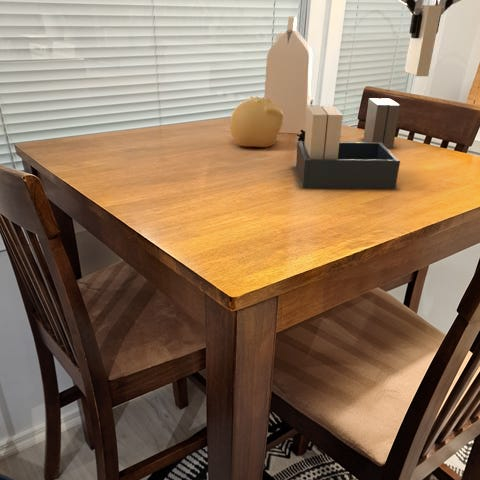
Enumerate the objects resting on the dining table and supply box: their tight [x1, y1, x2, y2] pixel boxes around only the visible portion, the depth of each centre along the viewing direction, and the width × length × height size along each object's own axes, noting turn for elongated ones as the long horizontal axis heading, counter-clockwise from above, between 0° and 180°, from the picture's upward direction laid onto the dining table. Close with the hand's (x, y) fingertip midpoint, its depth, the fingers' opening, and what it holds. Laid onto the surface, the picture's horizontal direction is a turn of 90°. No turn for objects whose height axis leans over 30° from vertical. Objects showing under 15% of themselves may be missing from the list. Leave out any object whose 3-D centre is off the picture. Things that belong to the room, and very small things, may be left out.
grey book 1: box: [362, 97, 388, 143], centre depth 116 cm, size 2×9×10 cm, turn 0°
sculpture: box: [229, 96, 283, 148], centre depth 116 cm, size 12×12×11 cm
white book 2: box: [320, 105, 343, 159], centre depth 91 cm, size 2×9×12 cm, turn 0°
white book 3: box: [404, 4, 442, 77], centre depth 100 cm, size 2×9×12 cm, turn 179°
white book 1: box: [304, 105, 327, 159], centre depth 91 cm, size 2×9×12 cm, turn 0°
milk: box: [263, 16, 313, 135], centre depth 128 cm, size 12×12×26 cm
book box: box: [295, 141, 401, 190], centre depth 93 cm, size 17×14×6 cm
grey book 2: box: [379, 98, 401, 149], centre depth 116 cm, size 2×9×10 cm, turn 0°
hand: (422, 37), depth 99 cm, fingers closed on white book 3, 2 cm apart
